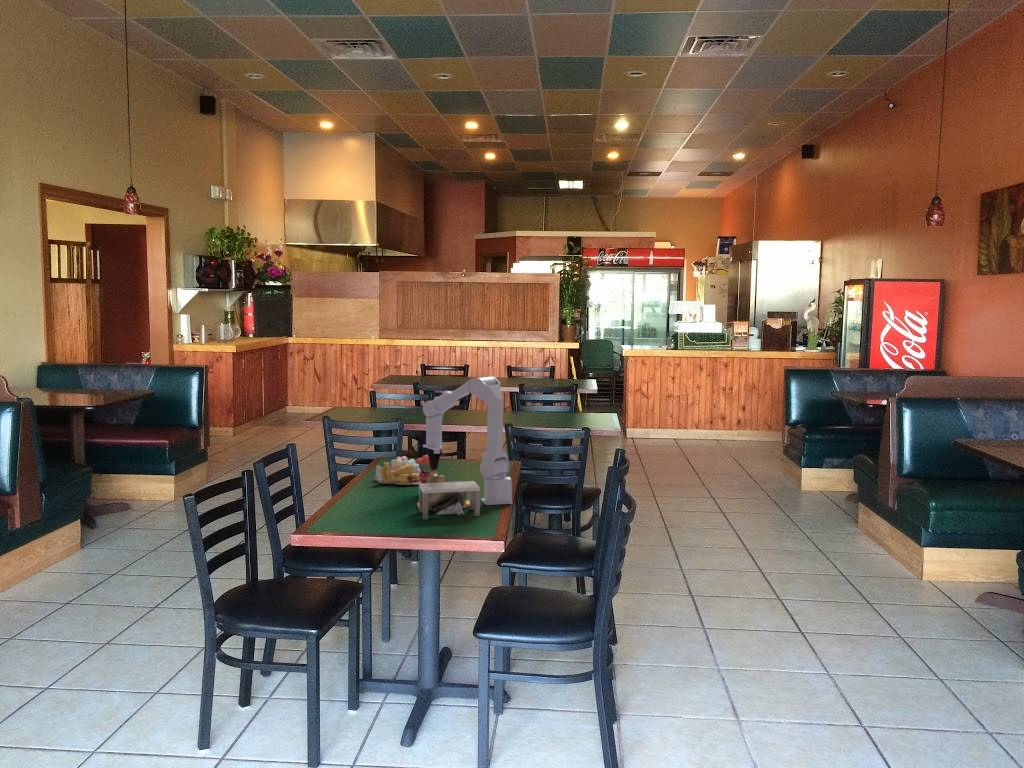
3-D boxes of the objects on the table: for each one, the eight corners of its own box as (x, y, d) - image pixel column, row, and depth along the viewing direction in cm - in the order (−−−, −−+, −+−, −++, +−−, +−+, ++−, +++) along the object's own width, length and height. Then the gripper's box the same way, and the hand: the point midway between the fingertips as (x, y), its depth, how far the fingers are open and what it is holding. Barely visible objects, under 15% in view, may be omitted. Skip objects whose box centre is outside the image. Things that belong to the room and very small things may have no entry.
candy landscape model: (432, 487, 307) (432, 463, 306) (370, 486, 307) (370, 462, 306) (439, 473, 332) (439, 451, 331) (382, 472, 332) (382, 450, 331)
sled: (453, 491, 298) (453, 474, 297) (465, 507, 274) (465, 490, 274) (417, 492, 295) (417, 476, 294) (427, 509, 271) (427, 492, 270)
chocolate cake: (429, 518, 265) (455, 493, 263) (426, 507, 271) (452, 483, 270) (449, 534, 269) (475, 510, 267) (445, 522, 275) (471, 499, 274)
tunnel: (473, 508, 275) (474, 481, 274) (480, 516, 265) (480, 487, 264) (419, 511, 271) (419, 483, 270) (423, 519, 261) (423, 490, 260)
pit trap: (469, 503, 282) (469, 500, 282) (472, 507, 276) (472, 504, 276) (417, 506, 277) (417, 502, 277) (419, 510, 272) (419, 506, 272)
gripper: (420, 430, 304) (420, 465, 306) (425, 436, 290) (425, 474, 292) (439, 429, 306) (439, 465, 307) (445, 436, 292) (445, 473, 293)
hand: (433, 469), depth 300 cm, fingers closed
